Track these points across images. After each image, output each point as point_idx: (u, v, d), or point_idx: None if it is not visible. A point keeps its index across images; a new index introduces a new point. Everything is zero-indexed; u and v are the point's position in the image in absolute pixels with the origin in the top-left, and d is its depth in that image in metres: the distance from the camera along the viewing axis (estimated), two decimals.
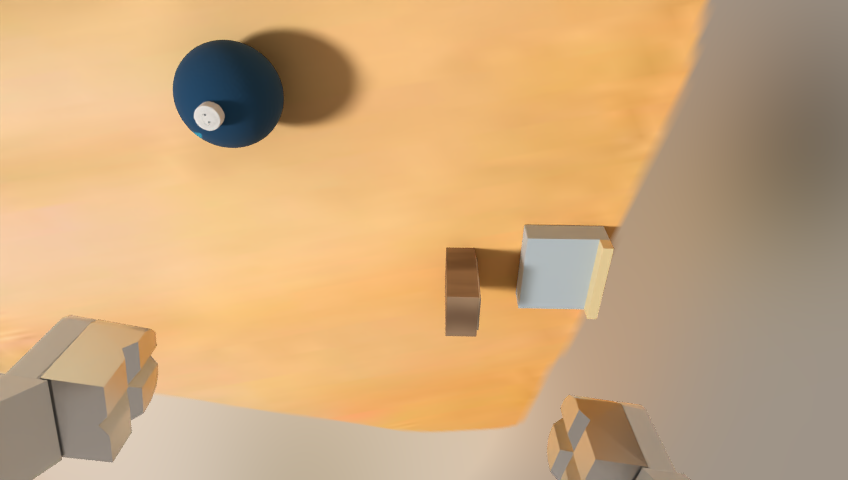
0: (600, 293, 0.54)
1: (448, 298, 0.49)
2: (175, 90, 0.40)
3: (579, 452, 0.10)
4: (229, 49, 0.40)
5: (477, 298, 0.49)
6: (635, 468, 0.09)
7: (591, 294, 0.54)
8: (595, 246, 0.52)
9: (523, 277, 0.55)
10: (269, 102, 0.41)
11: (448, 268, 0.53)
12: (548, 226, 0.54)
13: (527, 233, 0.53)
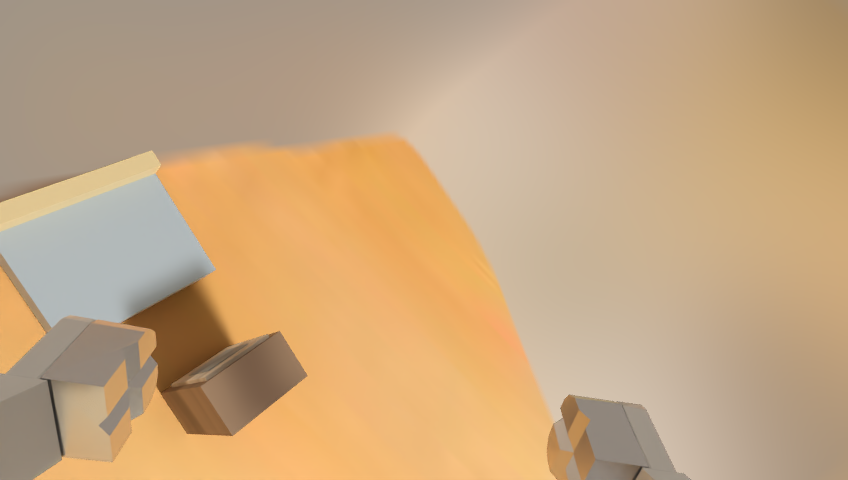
0: (95, 174, 0.30)
1: (234, 430, 0.27)
2: None
3: (579, 452, 0.10)
4: None
5: (204, 387, 0.27)
6: (635, 468, 0.09)
7: (109, 185, 0.30)
8: (8, 234, 0.28)
9: (153, 301, 0.31)
10: None
11: (203, 431, 0.30)
12: (37, 318, 0.29)
13: None
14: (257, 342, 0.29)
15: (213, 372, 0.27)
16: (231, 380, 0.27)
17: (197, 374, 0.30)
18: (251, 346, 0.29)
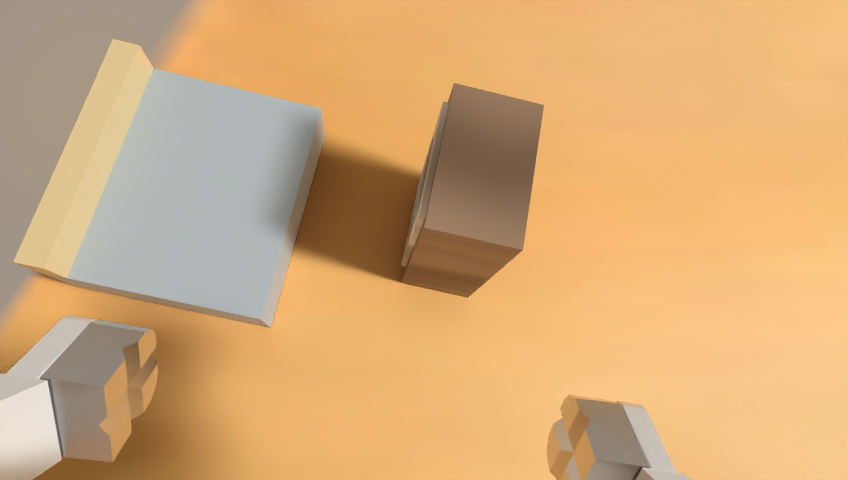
0: (84, 119, 0.19)
1: (518, 242, 0.16)
2: None
3: (579, 452, 0.10)
4: None
5: (430, 223, 0.16)
6: (635, 468, 0.09)
7: (114, 118, 0.20)
8: (83, 259, 0.19)
9: (292, 198, 0.21)
10: None
11: (482, 279, 0.20)
12: (211, 314, 0.21)
13: (262, 321, 0.20)
14: (440, 121, 0.17)
15: (423, 200, 0.16)
16: (454, 189, 0.16)
17: (412, 226, 0.19)
18: (438, 132, 0.17)
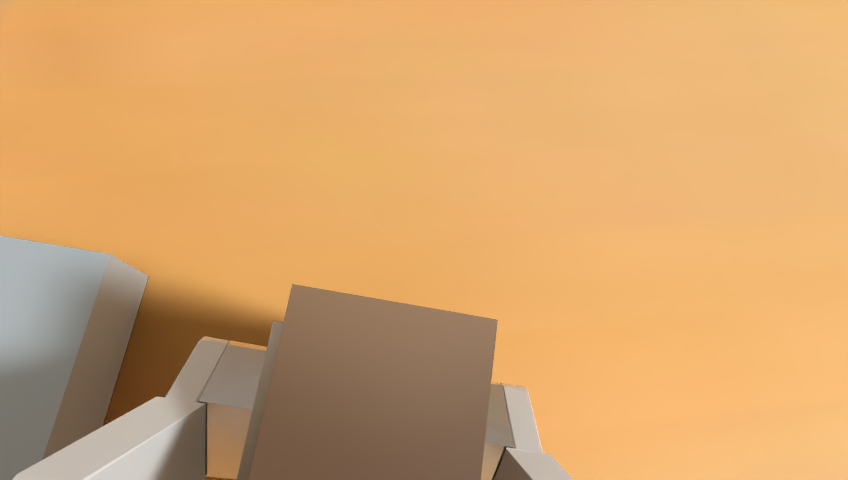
0: None
1: None
2: None
3: None
4: None
5: None
6: (500, 448, 0.09)
7: None
8: None
9: (44, 437, 0.11)
10: None
11: None
12: None
13: None
14: (265, 373, 0.07)
15: None
16: None
17: None
18: (258, 402, 0.07)
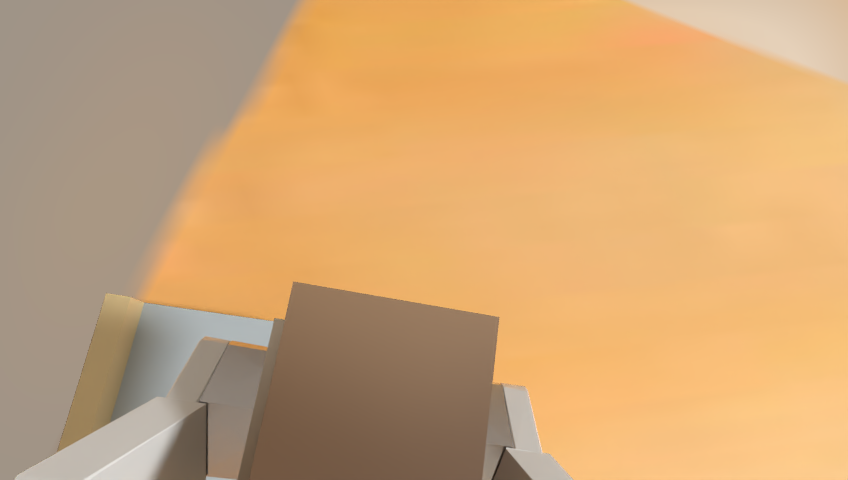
0: (85, 379, 0.21)
1: None
2: None
3: None
4: None
5: None
6: (500, 448, 0.09)
7: (112, 370, 0.22)
8: None
9: None
10: None
11: None
12: None
13: None
14: (267, 371, 0.07)
15: None
16: None
17: None
18: (259, 400, 0.07)
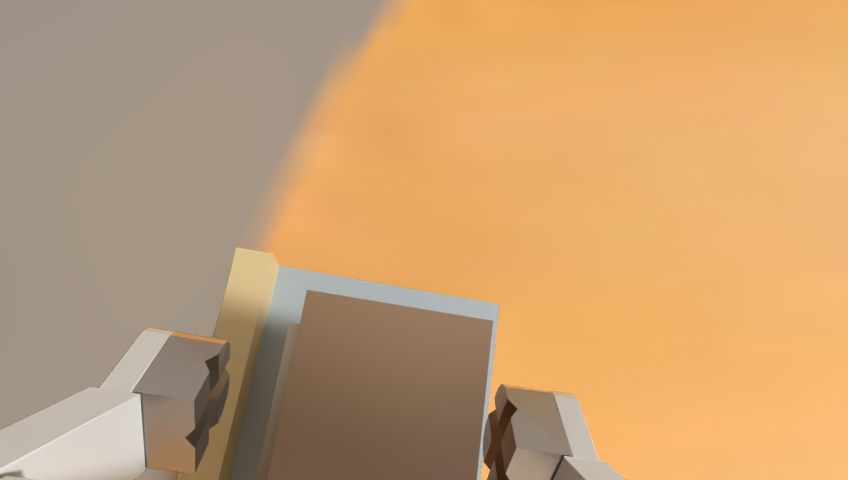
0: None
1: None
2: None
3: (505, 442, 0.09)
4: None
5: None
6: (557, 457, 0.09)
7: (248, 364, 0.14)
8: None
9: (481, 440, 0.16)
10: None
11: None
12: None
13: None
14: (283, 370, 0.08)
15: None
16: None
17: None
18: (277, 396, 0.08)
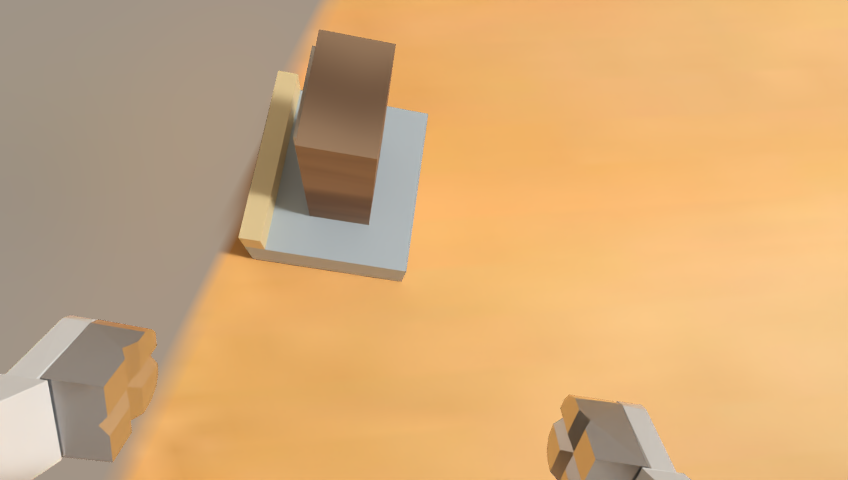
0: (268, 132, 0.26)
1: (374, 153, 0.19)
2: None
3: (579, 453, 0.10)
4: None
5: (299, 142, 0.19)
6: (635, 468, 0.09)
7: (286, 130, 0.27)
8: (273, 235, 0.26)
9: (416, 182, 0.28)
10: None
11: (367, 199, 0.23)
12: (358, 273, 0.28)
13: (402, 274, 0.27)
14: (310, 62, 0.21)
15: (296, 125, 0.20)
16: (320, 114, 0.20)
17: None
18: (308, 71, 0.20)
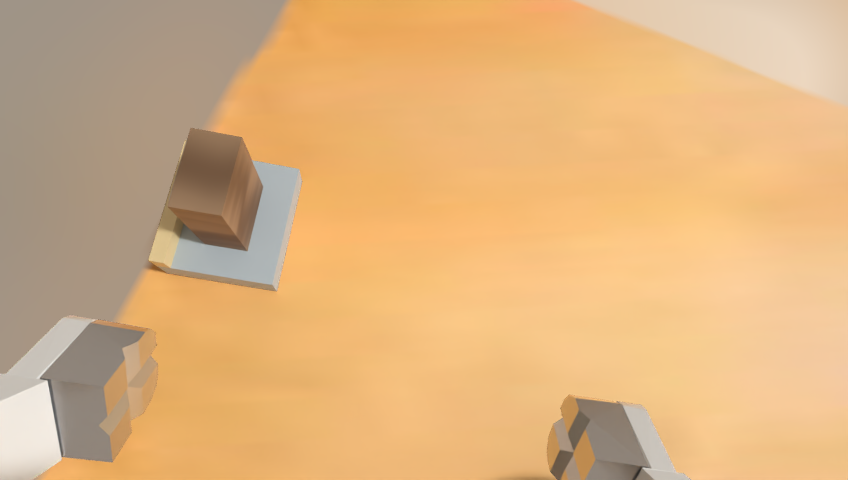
0: None
1: (219, 211, 0.30)
2: None
3: (579, 452, 0.10)
4: None
5: (170, 204, 0.30)
6: (635, 468, 0.09)
7: None
8: (177, 258, 0.37)
9: (285, 220, 0.39)
10: None
11: (234, 236, 0.34)
12: (244, 285, 0.39)
13: (272, 287, 0.38)
14: (184, 149, 0.31)
15: (171, 192, 0.31)
16: (186, 185, 0.30)
17: None
18: (182, 155, 0.31)
